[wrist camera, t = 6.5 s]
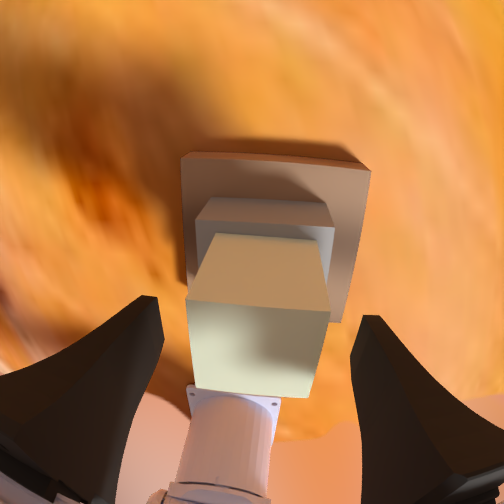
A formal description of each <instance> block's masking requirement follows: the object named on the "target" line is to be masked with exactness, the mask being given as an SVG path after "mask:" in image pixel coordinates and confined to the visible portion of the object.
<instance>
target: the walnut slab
mask: <svg viewBox="0 0 504 504" xmlns="http://www.w3.org/2000/svg"><path fill="white" fill-rule="evenodd" d="M180 163H181V192H182V213H183V231H184V246H185V260H186V273H187V284H188V292H189V290H190V288H191V286H192V283H193V281H194V279H195V277H196V275H197V272H198V257H197V243H196V227H195V219H196V218H197V216H198V215H199V213H200V212H201V211H202V209H203V208H204V206H205V205H206V204H207V202H208V201H209V200H210V198H211V197H226V198H251V199H271V200H288V201H304V202H318V203H326V204H327V207H328V210H329V212H330V215H331V218H332V220H333V223H334V226H335V232H334V239H333V246H332V253H331V260H330V266H329V273H328V279H327V285H326V287H327V292H328V297H329V303H330V308H331V314H330V319H329V322H334V323H341V320H342V316H343V312H344V308H345V304H346V300H347V296H348V292H349V288H350V283H351V279H352V274H353V270H354V265H355V261H356V256H357V251H358V246H359V241H360V236H361V231H362V225H363V220H364V214H365V208H366V202H367V196H368V190H369V183H370V176H371V171H370V170H369V169H368V168H367V167H366V166H365V165H364V164H363V163H357V162H349V161H340V160H331V159H322V158H312V157H301V156H288V155H274V154H258V153H237V152H196V151H191V152H189V153H188V154H186V155H185V156H183V157H181V158H180Z"/></svg>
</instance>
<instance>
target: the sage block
mask: <svg viewBox="0 0 504 504" xmlns="http://www.w3.org/2000/svg"><path fill="white" fill-rule="evenodd" d="M185 300H186V310H187V320H188V329H189V338H190V347H191V355H192V363H193V371H194V378H195V385H196V388H202V389H209V390H216V391H224V392H233V393H242V394H252V395H264V396H278V397H296V398H308V396H309V393H310V390H311V386H312V383H313V379H314V376H315V372H316V369H317V365H318V362H319V358H320V354H321V350H322V347H323V343H324V339H325V335H326V331H327V327H328V323H329V319H330V314H331V308H330V303H329V297H328V292H327V287H326V282H325V277H324V272H323V267H322V262H321V258H320V253H319V248H318V244H317V240H305V239H293V238H281V237H268V236H255V235H242V234H228V233H215V236H214V238H213V240H212V242H211V244H210V246H209V248H208V251H207V253H206V255H205V257H204V259H203V261H202V264H201V266H200V268H199V270H198V272H197V275H196V277H195V279H194V281H193V283H192V286H191V288H190V290H189V292H188V295H187V297H186V299H185Z"/></svg>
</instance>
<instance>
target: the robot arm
mask: <svg viewBox="0 0 504 504" xmlns="http://www.w3.org/2000/svg"><path fill="white" fill-rule="evenodd" d="M164 340H165V338H164V333H163V328H162V322H161V317H160V311H159V305H158V299H157V297H152V296H145V295H141V296H140V297H138V298H137V299H136V300H134V301H133V302H131V303H130V304H129V305H127V306H126V307H125V308H123V309H122V310H121V311H120V312H118V313H117V314H116V315H114V316H113V317H111V318H110V319H109V320H107V321H106V322H105V323H103V324H102V325H101V326H99V327H98V328H96V329H95V330H93V331H92V332H90V333H89V334H88V335H86V336H85V337H83V338H82V339H80V340H79V341H77V342H75V343H74V344H72V345H70V346H69V347H67V348H65V349H63V350H62V351H60V352H58V353H56V354H54V355H52V356H50V357H48V358H46V359H44V360H42V361H39V362H37V363H35V364H33V365H30V366H28V367H25V368H23V369H20V370H17V371H14V372H11V373H8V374H5V375H1V376H0V504H80V502H81V503H83V504H115V498H116V490H117V483H118V478H119V472H120V467H121V462H122V458H123V454H124V449H125V446H126V442H127V438H128V434H129V431H130V428H131V424H132V421H133V418H134V415H135V413H136V410H137V408H138V405H139V403H140V401H141V398H142V396H143V394H144V392H145V390H146V387H147V385H148V383H149V381H150V379H151V376H152V374H153V372H154V370H155V367H156V365H157V363H158V360H159V357H160V353H161V350H162V347H163V343H164ZM350 365H351V380H352V386H353V392H354V397H355V403H356V408H357V414H358V420H359V426H360V432H361V440H362V493H361V504H496V501H495V498H497V497H498V496H499V489H498V486H500V485H501V484H502V483H504V430H503V429H501V428H499V427H497V426H495V425H494V424H492V423H490V422H489V421H487V420H486V419H484V418H482V417H481V416H479V415H478V414H476V413H475V412H474V411H472V410H471V409H469V408H468V407H467V406H466V405H464V404H463V403H462V402H460V401H459V400H458V399H457V398H455V397H454V396H453V395H452V394H451V393H449V392H448V391H447V390H446V389H445V388H444V387H443V386H442V385H441V384H440V383H438V382H437V381H436V380H435V379H434V378H433V377H432V376H431V375H430V374H429V372H428V371H427V370H426V369H425V368H424V367H423V366H422V365H421V364H420V363H419V362H418V361H417V360H416V358H415V357H414V356H413V355H412V354H411V353H410V351H409V350H408V349H407V348H406V347H405V346H404V344H403V343H402V342H401V341H400V340H399V338H398V337H397V336H396V335H395V333H394V332H393V331H392V330H391V329H390V327H389V326H388V325H387V324H386V322H385V321H384V320H383V319H382V318H381V317H380V316H379V315H363V317H362V321H361V324H360V327H359V330H358V334H357V337H356V340H355V343H354V346H353V349H352V352H351V355H350ZM186 392H187V397H188V402H189V407H190V412H191V416H192V419H191V423H190V427H189V430H188V434H187V438H186V441H185V445H184V449H183V452H182V456H181V460H180V464H179V468H178V471H177V475H176V479H175V482H170V485H169V488H168V491H167V490H163V489H160V490H158V491H157V492H155V493H153V494H152V495H151V496H150V498H149V499H148V501H147V503H146V504H271V499H269V498H266V494H267V482H268V472H269V461H270V449H271V446H272V444H273V439H274V434H275V429H276V424H277V419H278V414H279V409H280V404H281V397H278V396H264V395H252V394H242V393H233V392H224V391H216V390H209V389H202V388H196V385H191V384H190V385H188V386H187V388H186ZM498 504H504V501H502V502H500V503H498Z"/></svg>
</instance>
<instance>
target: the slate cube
mask: <svg viewBox="0 0 504 504" xmlns="http://www.w3.org/2000/svg"><path fill="white" fill-rule="evenodd" d="M195 227H196V243H197V257H198V270H199V268H200V266H201V264H202V261H203V259H204V257H205V255H206V253H207V251H208V248H209V246H210V244H211V242H212V240H213V238H214V236H215V233H228V234H242V235H255V236H268V237H281V238H293V239H305V240H317V244H318V248H319V253H320V258H321V262H322V267H323V272H324V277H325V282H326V285H327V279H328V273H329V266H330V260H331V253H332V246H333V239H334V232H335V226H334V223H333V220H332V218H331V215H330V212H329V210H328V207H327V204H326V203H318V202H304V201H288V200H271V199H251V198H226V197H211V198H210V200H209V201H208V202H207V204H206V205H205V206H204V208H203V209H202V211H201V212H200V213H199V215H198V216H197V218H196V219H195Z"/></svg>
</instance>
